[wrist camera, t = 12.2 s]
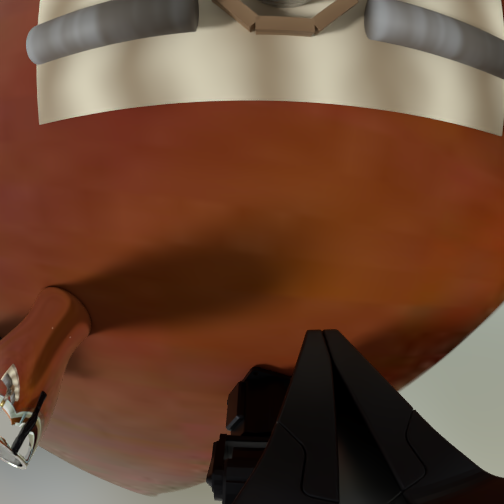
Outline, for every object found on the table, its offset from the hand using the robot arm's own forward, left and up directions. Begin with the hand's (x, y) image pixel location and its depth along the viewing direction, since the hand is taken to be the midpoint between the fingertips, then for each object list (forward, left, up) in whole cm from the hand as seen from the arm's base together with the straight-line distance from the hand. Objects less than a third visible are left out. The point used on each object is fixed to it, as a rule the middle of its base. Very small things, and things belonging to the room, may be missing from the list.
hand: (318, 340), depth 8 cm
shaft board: (+6, -11, -13) cm, 18 cm away
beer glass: (+13, +18, -13) cm, 26 cm away
